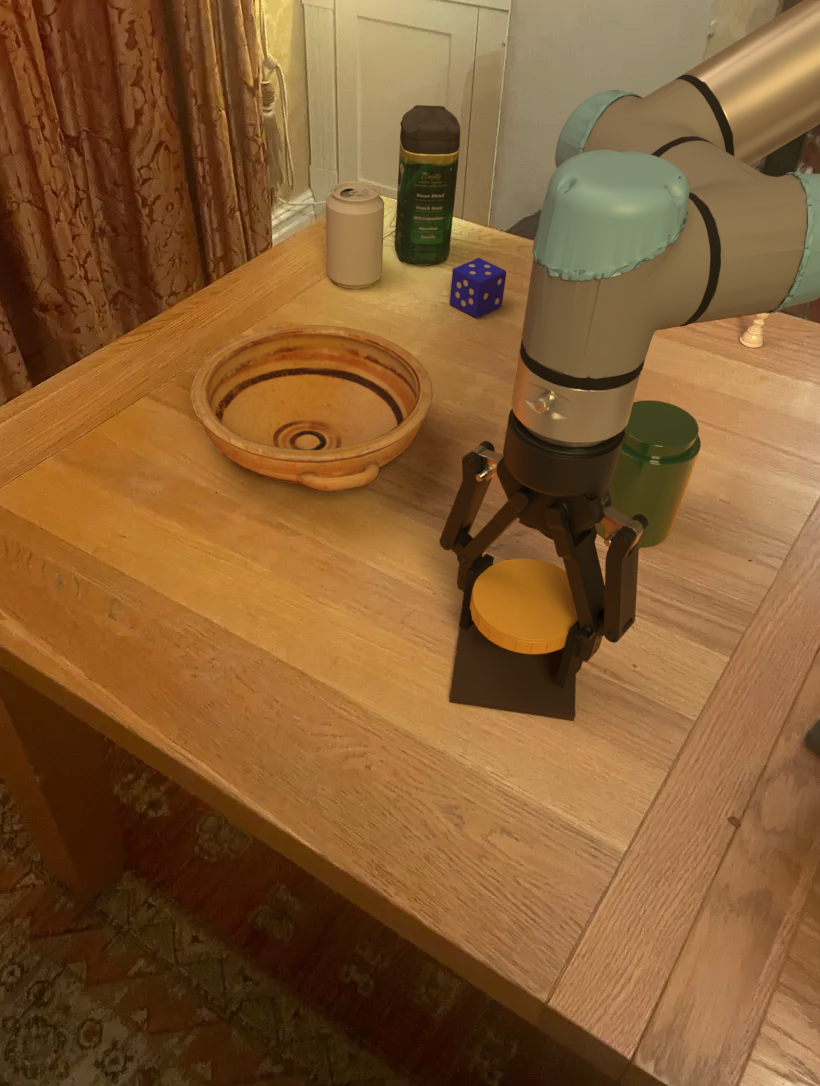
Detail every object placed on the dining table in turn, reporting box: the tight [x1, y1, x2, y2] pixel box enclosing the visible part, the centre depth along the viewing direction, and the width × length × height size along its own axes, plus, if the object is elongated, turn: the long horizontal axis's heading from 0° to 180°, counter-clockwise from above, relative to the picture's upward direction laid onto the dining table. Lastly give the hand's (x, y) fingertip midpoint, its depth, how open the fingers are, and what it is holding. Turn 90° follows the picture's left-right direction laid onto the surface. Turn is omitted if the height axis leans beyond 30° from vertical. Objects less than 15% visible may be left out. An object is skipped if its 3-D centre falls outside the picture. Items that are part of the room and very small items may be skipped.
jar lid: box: [470, 558, 578, 654], centre depth 71 cm, size 9×9×2 cm
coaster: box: [448, 623, 577, 722], centre depth 76 cm, size 10×10×1 cm
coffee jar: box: [394, 104, 461, 266], centre depth 123 cm, size 10×8×19 cm
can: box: [325, 180, 385, 290], centre depth 119 cm, size 8×8×12 cm
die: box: [449, 257, 507, 319], centre depth 117 cm, size 5×5×5 cm
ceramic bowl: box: [190, 321, 434, 492], centre depth 94 cm, size 30×24×8 cm
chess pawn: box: [739, 313, 771, 349], centre depth 112 cm, size 3×3×5 cm
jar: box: [595, 399, 702, 549], centre depth 86 cm, size 8×8×12 cm
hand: (518, 647), depth 75 cm, fingers closed on jar lid, 9 cm apart
